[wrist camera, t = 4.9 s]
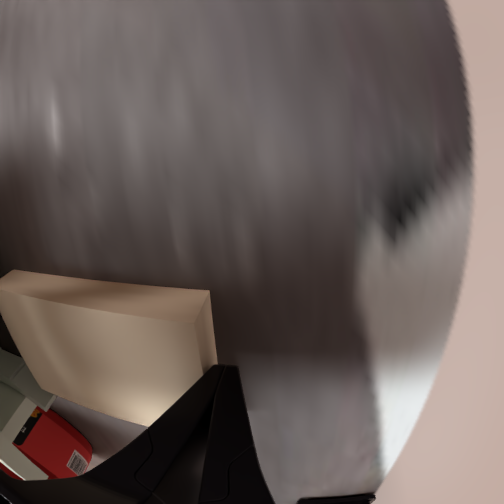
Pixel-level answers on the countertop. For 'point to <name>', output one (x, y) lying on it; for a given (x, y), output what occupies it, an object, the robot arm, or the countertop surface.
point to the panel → (110, 340)
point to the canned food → (52, 446)
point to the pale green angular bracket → (18, 412)
